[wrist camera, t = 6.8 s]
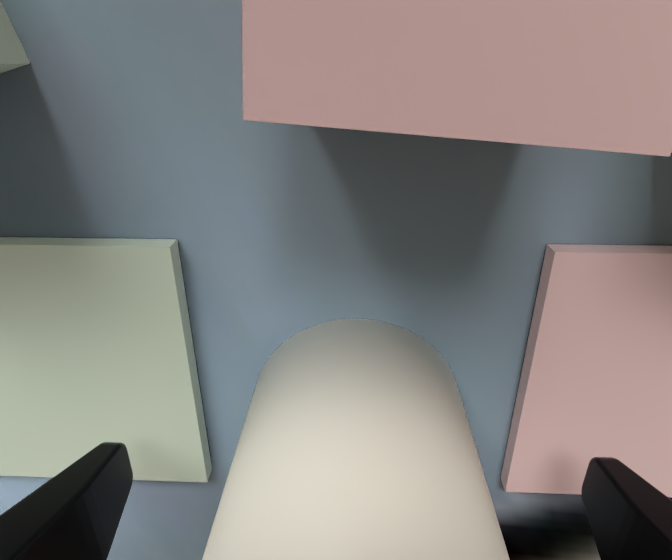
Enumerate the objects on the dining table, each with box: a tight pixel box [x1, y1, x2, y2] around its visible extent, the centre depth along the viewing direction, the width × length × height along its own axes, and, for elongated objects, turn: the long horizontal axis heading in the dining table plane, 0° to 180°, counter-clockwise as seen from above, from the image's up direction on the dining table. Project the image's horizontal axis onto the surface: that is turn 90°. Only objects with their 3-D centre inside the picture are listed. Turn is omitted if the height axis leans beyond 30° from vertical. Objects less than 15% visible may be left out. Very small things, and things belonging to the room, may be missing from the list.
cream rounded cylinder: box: [202, 319, 510, 560], centre depth 8 cm, size 5×5×6 cm
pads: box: [0, 237, 672, 497], centre depth 10 cm, size 6×19×1 cm, turn 90°
